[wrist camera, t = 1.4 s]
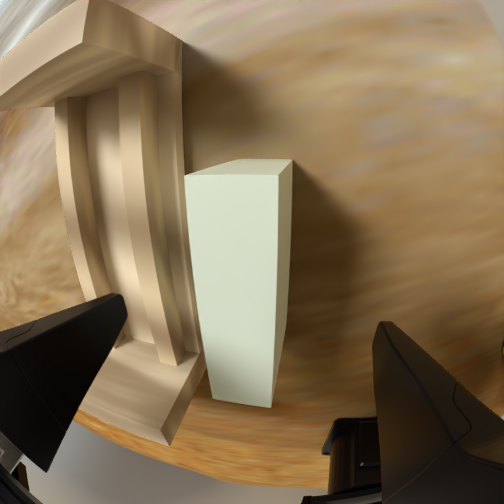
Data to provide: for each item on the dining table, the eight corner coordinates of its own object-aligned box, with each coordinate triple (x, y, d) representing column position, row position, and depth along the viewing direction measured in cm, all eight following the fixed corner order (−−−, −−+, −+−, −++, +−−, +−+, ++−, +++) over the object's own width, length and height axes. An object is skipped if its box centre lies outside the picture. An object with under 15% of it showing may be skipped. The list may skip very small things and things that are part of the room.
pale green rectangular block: (286, 323, 16) (270, 407, 10) (231, 318, 16) (196, 394, 11) (292, 159, 12) (278, 174, 7) (223, 159, 13) (160, 176, 7)
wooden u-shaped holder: (207, 365, 18) (169, 446, 12) (116, 344, 20) (68, 402, 13) (182, 41, 10) (90, -8, 4) (72, 78, 12) (-17, 77, 6)
